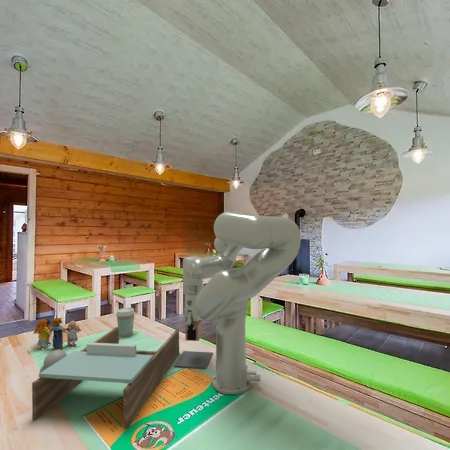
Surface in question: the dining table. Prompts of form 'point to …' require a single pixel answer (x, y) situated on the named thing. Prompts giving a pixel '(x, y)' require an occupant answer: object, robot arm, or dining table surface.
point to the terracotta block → (198, 330)
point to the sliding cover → (100, 364)
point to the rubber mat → (194, 360)
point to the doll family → (56, 333)
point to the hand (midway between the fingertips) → (193, 336)
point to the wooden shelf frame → (133, 393)
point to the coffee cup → (125, 321)
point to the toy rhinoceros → (52, 359)
